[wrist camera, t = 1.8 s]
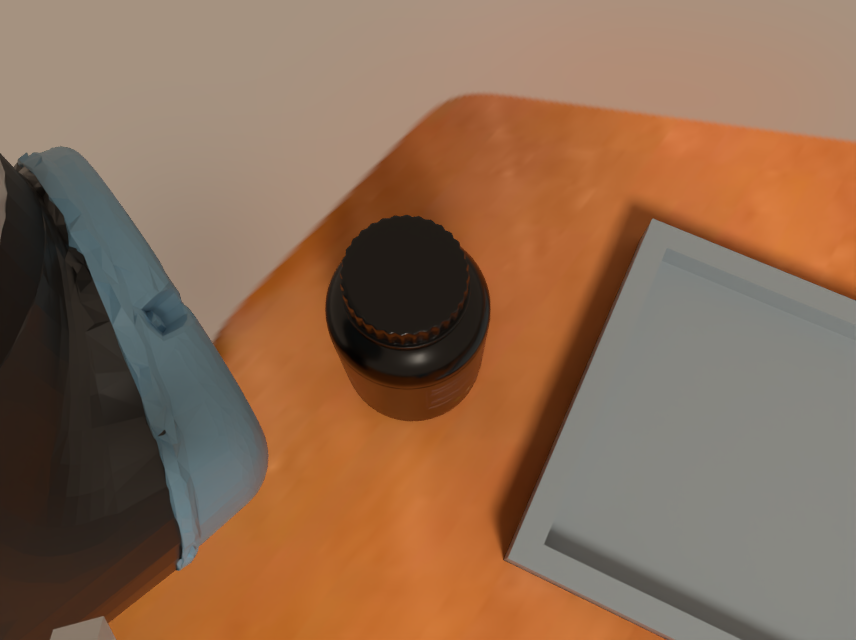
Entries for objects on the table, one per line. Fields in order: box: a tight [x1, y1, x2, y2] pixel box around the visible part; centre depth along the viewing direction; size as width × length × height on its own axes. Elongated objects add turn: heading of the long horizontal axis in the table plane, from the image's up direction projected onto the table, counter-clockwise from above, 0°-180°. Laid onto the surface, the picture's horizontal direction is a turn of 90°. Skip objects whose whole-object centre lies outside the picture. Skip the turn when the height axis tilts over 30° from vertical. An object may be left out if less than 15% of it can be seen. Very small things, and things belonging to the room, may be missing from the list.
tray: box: [504, 218, 856, 640], centre depth 37 cm, size 18×18×2 cm
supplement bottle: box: [325, 215, 490, 421], centre depth 35 cm, size 7×7×12 cm
